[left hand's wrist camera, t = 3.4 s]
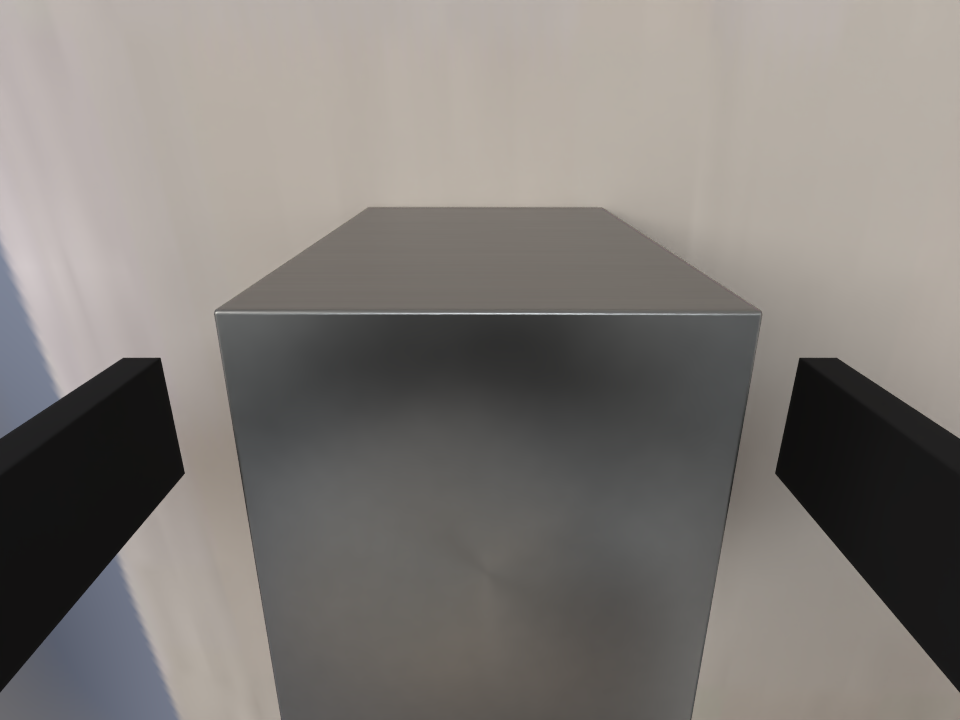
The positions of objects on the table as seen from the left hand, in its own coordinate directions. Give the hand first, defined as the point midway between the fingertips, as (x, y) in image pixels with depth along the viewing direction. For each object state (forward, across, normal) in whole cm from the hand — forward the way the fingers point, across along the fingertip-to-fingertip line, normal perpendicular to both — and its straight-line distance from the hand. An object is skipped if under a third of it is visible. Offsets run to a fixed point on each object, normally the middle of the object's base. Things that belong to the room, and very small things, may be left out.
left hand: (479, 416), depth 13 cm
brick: (+6, 0, 0) cm, 6 cm away
